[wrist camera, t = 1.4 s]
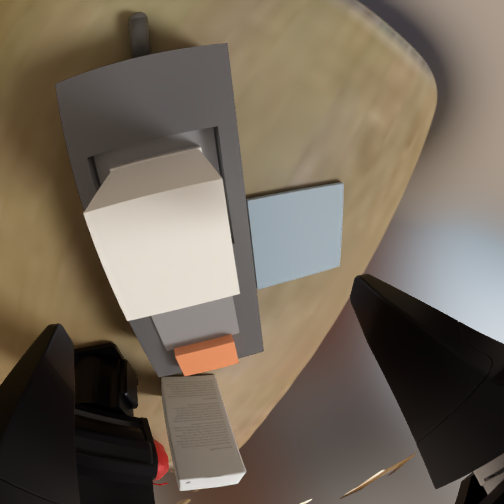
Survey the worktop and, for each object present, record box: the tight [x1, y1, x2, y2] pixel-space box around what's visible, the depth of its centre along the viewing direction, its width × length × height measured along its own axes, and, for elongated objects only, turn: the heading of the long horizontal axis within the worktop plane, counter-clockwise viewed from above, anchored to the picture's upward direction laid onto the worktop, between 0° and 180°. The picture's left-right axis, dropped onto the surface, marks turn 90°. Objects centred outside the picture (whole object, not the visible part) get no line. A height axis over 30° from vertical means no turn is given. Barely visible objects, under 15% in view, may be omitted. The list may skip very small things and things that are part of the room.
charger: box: [83, 146, 240, 321], centre depth 13 cm, size 5×5×7 cm
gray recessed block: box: [55, 12, 264, 377], centre depth 17 cm, size 9×26×5 cm, turn 6°
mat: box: [246, 182, 344, 289], centre depth 24 cm, size 8×8×1 cm
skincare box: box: [161, 375, 246, 491], centre depth 24 cm, size 6×4×12 cm
